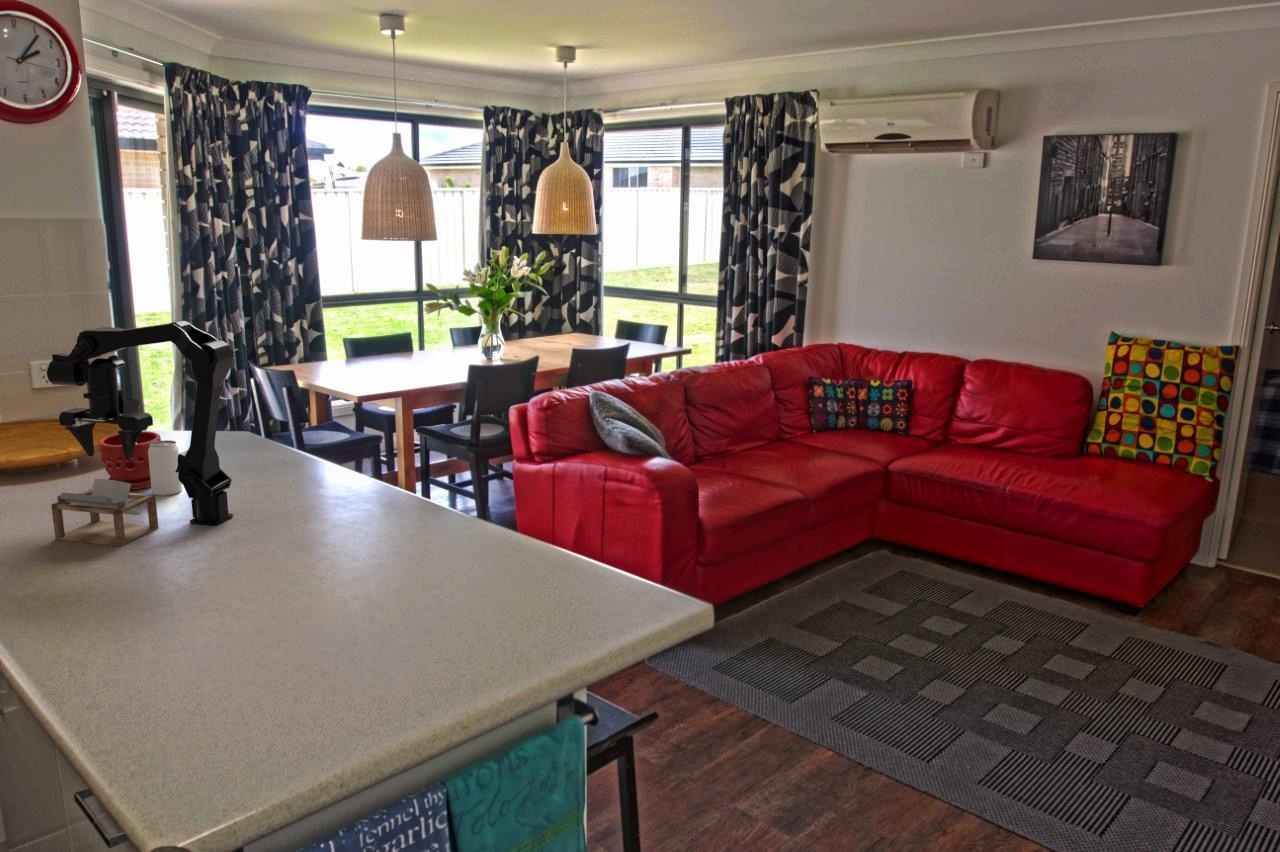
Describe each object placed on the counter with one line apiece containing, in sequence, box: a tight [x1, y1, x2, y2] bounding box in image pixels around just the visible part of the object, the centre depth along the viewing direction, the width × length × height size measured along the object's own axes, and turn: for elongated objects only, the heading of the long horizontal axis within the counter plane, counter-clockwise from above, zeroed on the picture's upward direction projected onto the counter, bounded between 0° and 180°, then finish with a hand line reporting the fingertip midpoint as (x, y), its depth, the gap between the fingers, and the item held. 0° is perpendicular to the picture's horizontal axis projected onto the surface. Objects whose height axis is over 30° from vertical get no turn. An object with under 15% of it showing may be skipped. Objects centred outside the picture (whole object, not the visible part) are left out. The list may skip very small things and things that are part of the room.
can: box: [148, 440, 183, 497], centre depth 222 cm, size 6×6×12 cm
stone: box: [91, 478, 131, 505], centre depth 196 cm, size 5×5×5 cm
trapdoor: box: [60, 492, 141, 516], centre depth 193 cm, size 12×10×1 cm
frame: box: [51, 488, 159, 547], centre depth 195 cm, size 15×11×9 cm
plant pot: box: [98, 430, 162, 490], centre depth 227 cm, size 13×13×12 cm
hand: (110, 457), depth 204 cm, fingers open, 9 cm apart
